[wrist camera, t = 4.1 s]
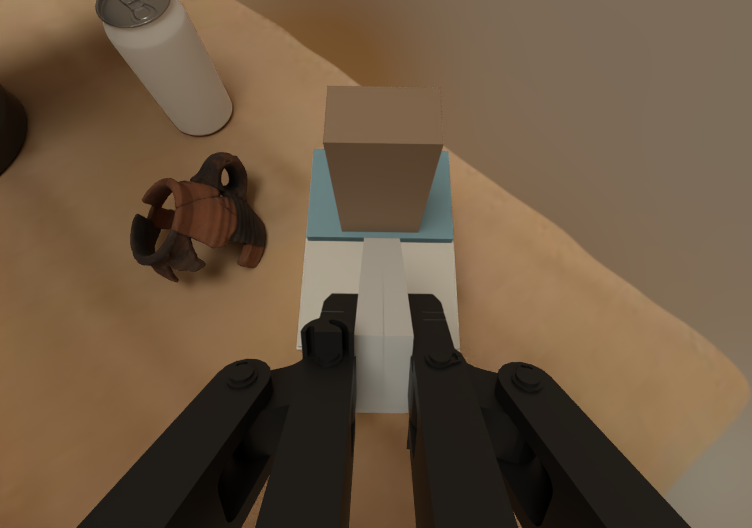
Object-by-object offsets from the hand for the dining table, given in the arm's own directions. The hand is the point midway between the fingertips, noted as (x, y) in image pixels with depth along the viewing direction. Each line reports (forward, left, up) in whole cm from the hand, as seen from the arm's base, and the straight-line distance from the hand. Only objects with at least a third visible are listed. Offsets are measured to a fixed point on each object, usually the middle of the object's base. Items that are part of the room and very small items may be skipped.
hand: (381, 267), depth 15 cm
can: (-29, -8, -17) cm, 34 cm away
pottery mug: (-15, -10, -17) cm, 25 cm away
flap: (-7, +3, -8) cm, 11 cm away
